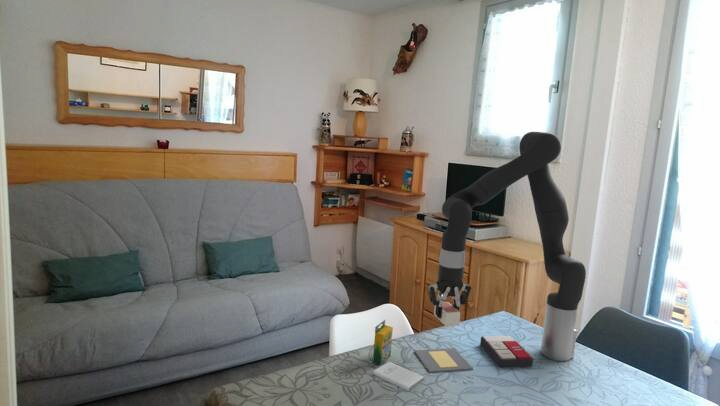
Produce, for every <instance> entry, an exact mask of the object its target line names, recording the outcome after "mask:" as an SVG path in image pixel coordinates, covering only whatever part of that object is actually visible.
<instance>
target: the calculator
mask: <svg viewBox="0 0 720 406" xmlns="http://www.w3.org/2000/svg"><path fill="white" fill-rule="evenodd" d="M479 347H481V349H482V350H483V351H484V352H486V354H488V357H490V359H492V361H493V362H494V363H495V365H497V366H498V367H499V368H500V369H501V368H502V369H505V368H508V369H509V368H533V365H534V364H533V363H534V358H533V357H532V356H531V355H530V354H529V353H528V351H526V349H525V348H523V346H521V345H520V344H519V342H518V341H516V340H515V339H514V338H513V337H512V336H511V335H483V336H480V344H479Z"/></svg>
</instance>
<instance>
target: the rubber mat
mask: <svg viewBox="0 0 720 406" xmlns="http://www.w3.org/2000/svg"><path fill="white" fill-rule="evenodd" d="M414 353H415V355H416V356H417V357H418V359H419V360H420V361H421V363H422V365H423V366H424V367H425V369H426V370H427V371H428V373H430V374H431V373H433V374H434V373H446V372H447V373H448V372H457V371H458V372H461V371H472V370H474V368H473V366H471V364H470V363H469V362H468V361H467V360H466V359H465V358H464V357H463V356H462V355H461V353H459V351H458V350H457V349H456V348H455V347H452V348H435V349H432V348H431V349H418V350H414Z"/></svg>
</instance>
